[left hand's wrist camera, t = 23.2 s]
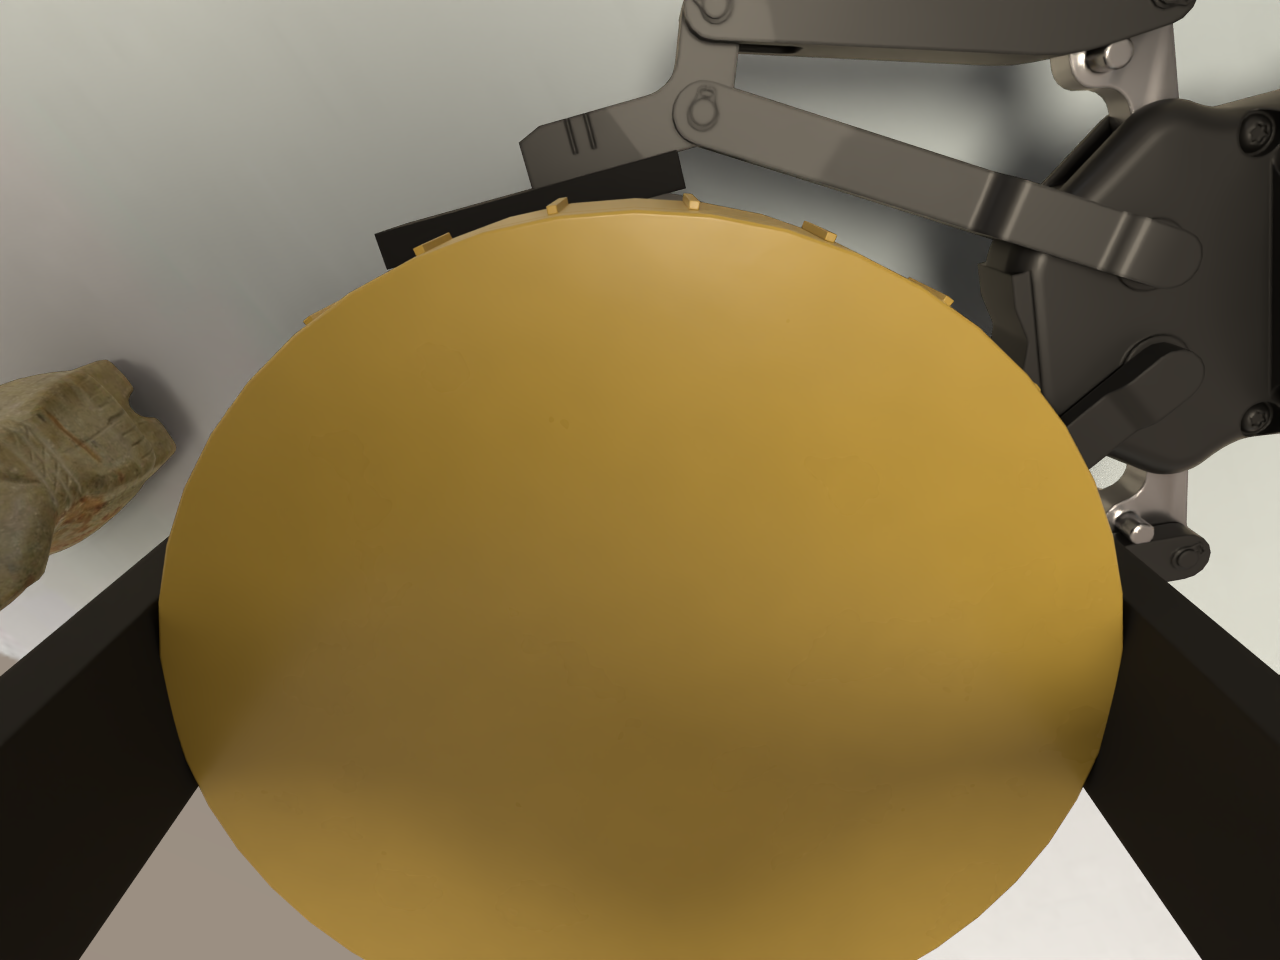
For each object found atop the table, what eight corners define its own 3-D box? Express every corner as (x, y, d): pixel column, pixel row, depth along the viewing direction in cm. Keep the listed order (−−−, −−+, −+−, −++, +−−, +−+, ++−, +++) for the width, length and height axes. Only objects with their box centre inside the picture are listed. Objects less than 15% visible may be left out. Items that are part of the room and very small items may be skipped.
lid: (1168, 740, 13) (1254, 838, 11) (525, 1015, 15) (508, 1135, 13) (831, -15, 9) (876, -55, 7) (46, 490, 11) (-67, 555, 10)
